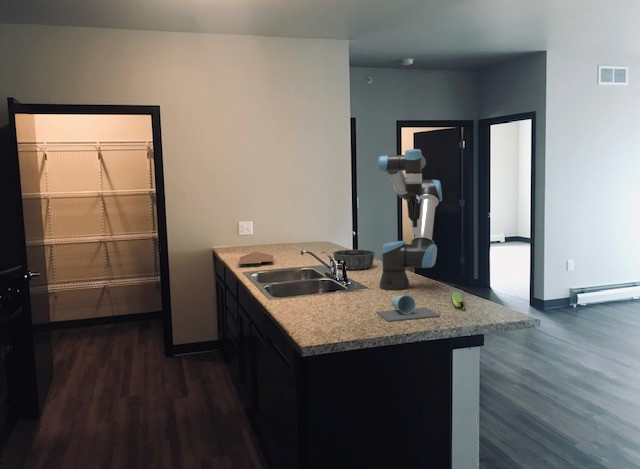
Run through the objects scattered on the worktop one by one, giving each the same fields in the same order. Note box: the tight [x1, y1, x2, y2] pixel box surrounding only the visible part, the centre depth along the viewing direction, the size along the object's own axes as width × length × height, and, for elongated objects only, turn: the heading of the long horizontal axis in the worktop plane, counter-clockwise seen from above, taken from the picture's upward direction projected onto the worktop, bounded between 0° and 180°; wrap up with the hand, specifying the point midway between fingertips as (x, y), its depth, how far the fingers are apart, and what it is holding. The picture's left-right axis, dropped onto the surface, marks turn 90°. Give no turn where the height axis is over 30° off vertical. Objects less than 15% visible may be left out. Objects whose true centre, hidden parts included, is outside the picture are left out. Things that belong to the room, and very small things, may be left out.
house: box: [237, 251, 275, 267], centre depth 365 cm, size 23×33×8 cm
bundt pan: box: [332, 249, 376, 271], centre depth 334 cm, size 26×26×10 cm
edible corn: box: [450, 291, 465, 311], centre depth 233 cm, size 5×20×5 cm
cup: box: [391, 294, 416, 314], centre depth 224 cm, size 8×8×10 cm
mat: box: [376, 307, 441, 323], centre depth 220 cm, size 14×22×1 cm, turn 103°
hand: (414, 234), depth 250 cm, fingers closed
